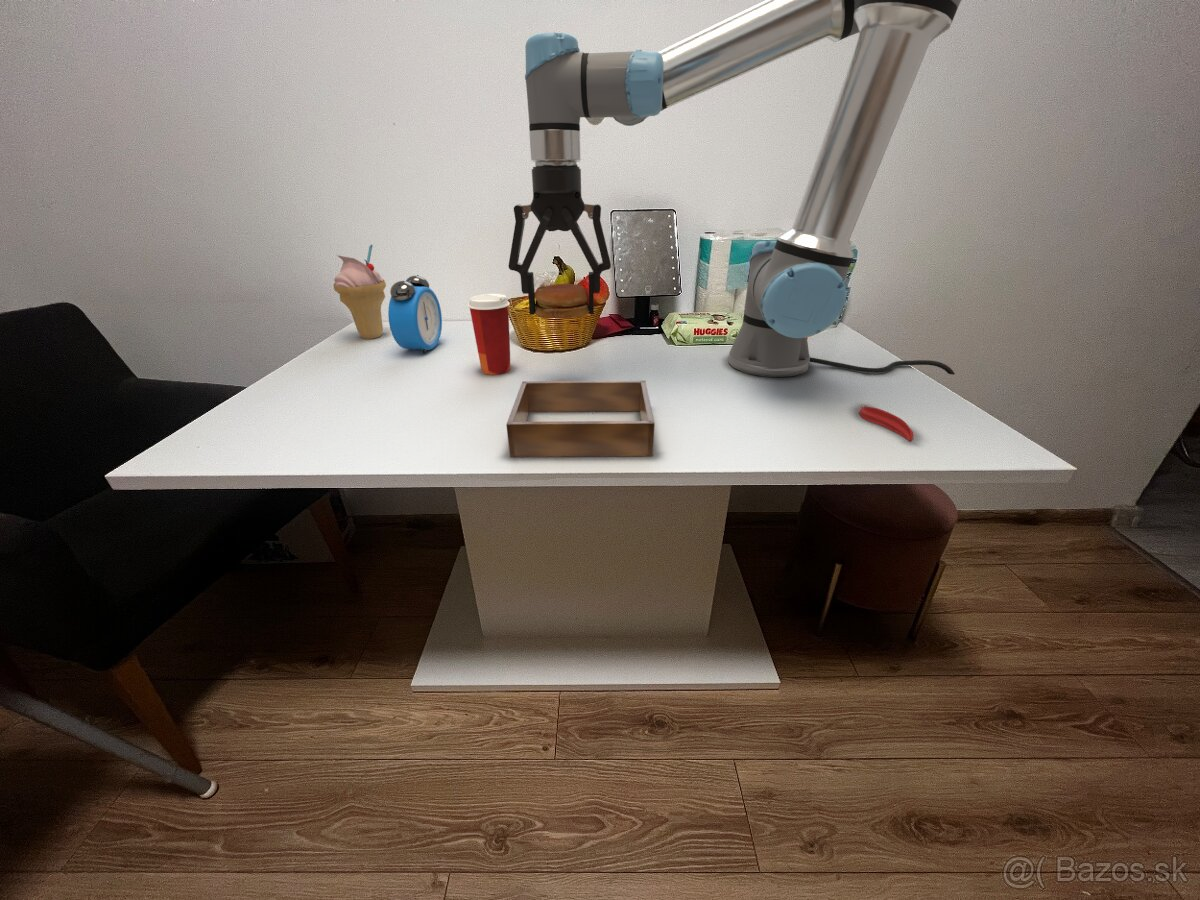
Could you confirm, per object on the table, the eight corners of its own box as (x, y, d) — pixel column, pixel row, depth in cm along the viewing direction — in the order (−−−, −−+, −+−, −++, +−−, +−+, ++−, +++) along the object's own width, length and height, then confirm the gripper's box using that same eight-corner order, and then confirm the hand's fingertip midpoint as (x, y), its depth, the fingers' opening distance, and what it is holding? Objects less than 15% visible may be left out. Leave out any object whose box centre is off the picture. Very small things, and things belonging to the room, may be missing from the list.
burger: (596, 317, 86) (596, 289, 84) (542, 323, 83) (540, 293, 81) (579, 305, 94) (578, 279, 92) (529, 309, 91) (527, 282, 89)
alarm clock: (422, 358, 107) (408, 284, 99) (394, 357, 107) (378, 284, 100) (446, 340, 118) (435, 272, 111) (421, 339, 119) (409, 272, 111)
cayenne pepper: (851, 407, 83) (853, 396, 82) (879, 407, 83) (882, 396, 82) (887, 441, 73) (891, 429, 72) (919, 441, 73) (924, 429, 72)
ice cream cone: (371, 328, 128) (352, 242, 118) (405, 332, 124) (388, 244, 114) (336, 339, 119) (312, 248, 109) (371, 345, 115) (350, 251, 106)
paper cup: (522, 365, 102) (516, 294, 96) (504, 378, 96) (496, 303, 89) (488, 361, 105) (479, 291, 98) (468, 374, 98) (457, 300, 92)
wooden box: (644, 409, 83) (645, 380, 81) (652, 456, 70) (654, 423, 67) (524, 409, 83) (522, 381, 81) (509, 457, 70) (506, 424, 67)
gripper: (627, 164, 81) (625, 306, 92) (488, 165, 81) (501, 307, 92) (630, 163, 74) (627, 317, 85) (478, 164, 74) (494, 318, 85)
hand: (562, 312), depth 88 cm, fingers closed on burger, 9 cm apart
